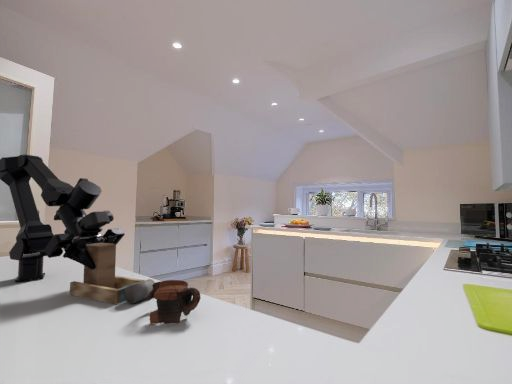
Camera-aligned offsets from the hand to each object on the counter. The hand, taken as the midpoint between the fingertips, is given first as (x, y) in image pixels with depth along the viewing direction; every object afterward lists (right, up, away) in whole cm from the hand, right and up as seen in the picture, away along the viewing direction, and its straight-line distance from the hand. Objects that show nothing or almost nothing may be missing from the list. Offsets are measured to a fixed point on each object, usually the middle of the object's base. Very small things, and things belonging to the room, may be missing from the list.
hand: (103, 266), depth 70 cm
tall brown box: (-1, -7, 0) cm, 7 cm away
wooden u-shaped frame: (+4, -7, -2) cm, 8 cm away
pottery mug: (+22, -7, -14) cm, 27 cm away
